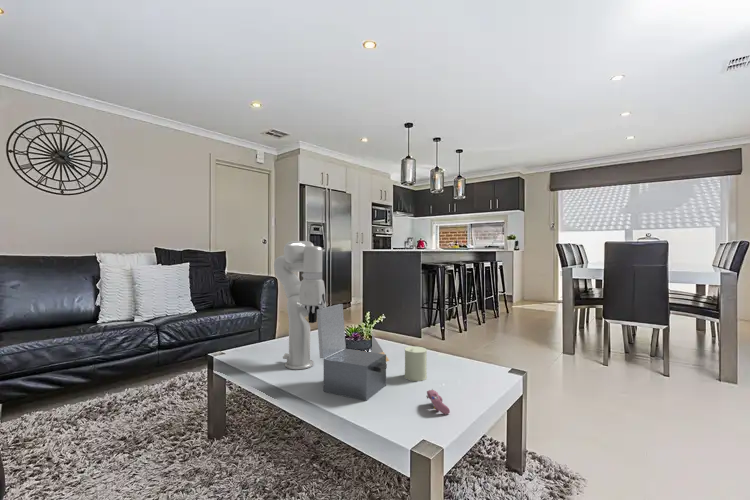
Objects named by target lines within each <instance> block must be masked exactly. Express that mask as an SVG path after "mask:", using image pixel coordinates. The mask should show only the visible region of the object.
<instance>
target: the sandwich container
mask: <svg viewBox="0 0 750 500" xmlns="http://www.w3.org/2000/svg"><path fill="white" fill-rule="evenodd" d="M372 353H379V354H386V353H385V352H384V350H383V349H382V347H381V346H380V344H379V342H378V340H377V339H376V338H375V336H374V335H373V333H372ZM387 362H390V359H389V357H388V356H387V355H386V363H387Z"/></svg>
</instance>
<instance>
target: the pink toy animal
mask: <svg viewBox="0 0 750 500" xmlns="http://www.w3.org/2000/svg"><path fill="white" fill-rule="evenodd" d="M426 394H427V395H426V399H429V400H430V401H431V404H432V405H433V410H435V411H436V412H440V413H442V414H443V415H449V414H450V413H451V411H450V408H449V407H448V406H447V405H446V404H444V403H443V398H442V396H440V394H439V393H438V392H437V391H436V390H434V389H433V388H431V389H429V390H427V391H426Z"/></svg>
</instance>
